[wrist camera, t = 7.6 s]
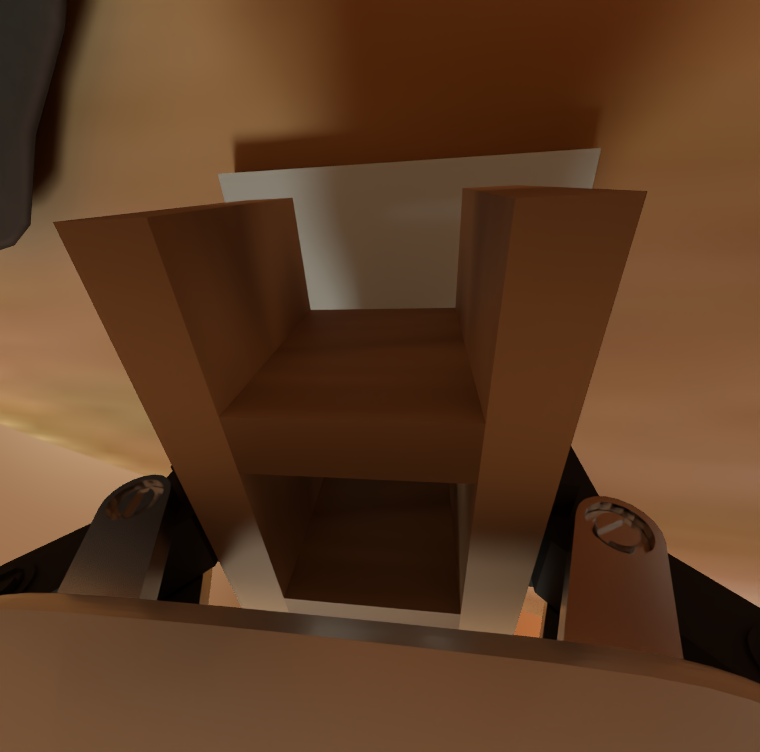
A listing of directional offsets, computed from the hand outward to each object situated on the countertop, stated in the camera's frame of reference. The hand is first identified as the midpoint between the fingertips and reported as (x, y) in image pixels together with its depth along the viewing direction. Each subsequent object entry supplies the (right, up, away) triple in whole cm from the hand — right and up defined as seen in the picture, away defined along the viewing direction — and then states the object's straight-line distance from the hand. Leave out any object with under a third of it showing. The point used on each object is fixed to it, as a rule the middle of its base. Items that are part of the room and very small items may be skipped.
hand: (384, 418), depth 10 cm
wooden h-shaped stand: (0, 0, 0) cm, 1 cm away
